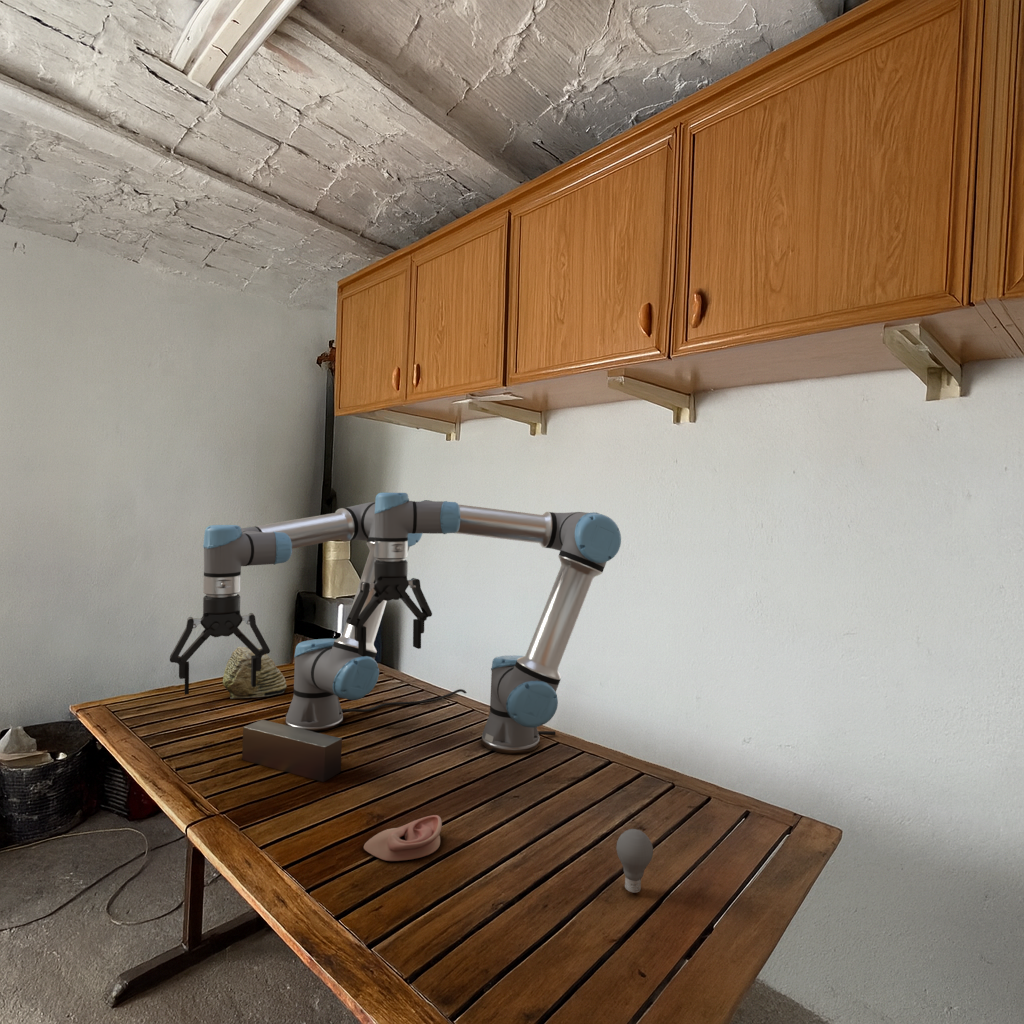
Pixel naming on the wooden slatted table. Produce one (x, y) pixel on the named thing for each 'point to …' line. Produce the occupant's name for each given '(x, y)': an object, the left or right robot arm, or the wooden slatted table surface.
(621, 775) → the wooden slatted table surface
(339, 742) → the bar
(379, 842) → the anatomical model
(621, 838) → the light bulb
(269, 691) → the fossil
